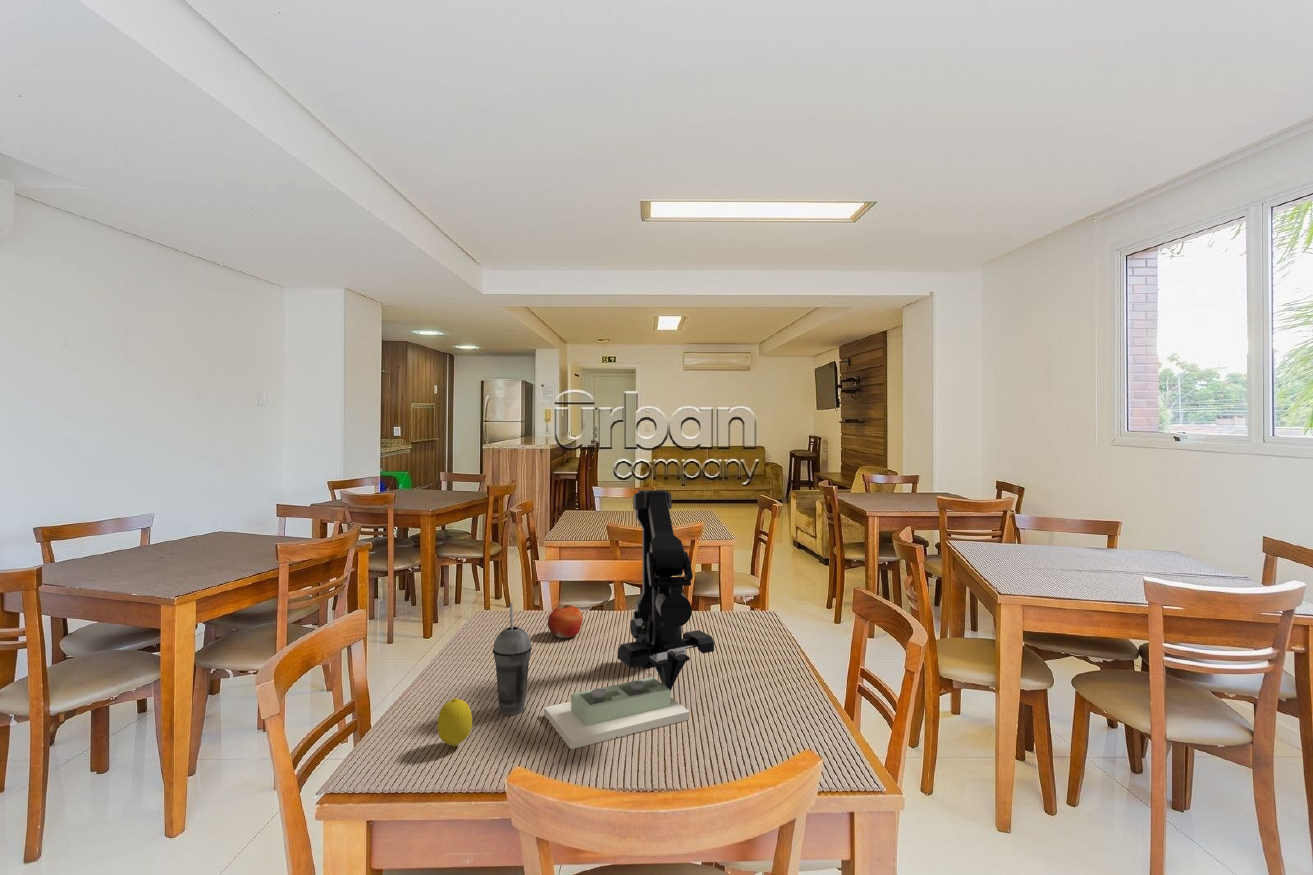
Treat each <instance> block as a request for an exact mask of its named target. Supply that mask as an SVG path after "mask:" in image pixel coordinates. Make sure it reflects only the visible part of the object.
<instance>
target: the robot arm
mask: <svg viewBox="0 0 1313 875" xmlns="http://www.w3.org/2000/svg"><path fill="white" fill-rule="evenodd" d="M672 508H673V507H672V492H668V490H665V489H639V490H638V491H637V493H636V492H635V493H633V496H632V509H633V511H635V519H637V521H638V524H639V525H640V526H641V529H642V531H641V532H642V535H641V536H642V538H641V539H642V540H641V541H642V546H641V547H642V553H641V554H642V555H641V556H642V564H641V565H642V591H641V593H640V595H639V596H638V598H637V600H636V602H635V610H634V611H632V619H630V634H631V636H632V638H633V639H635V641H630V642H627V643H626V642H625V643H620V645H619V647H618V649H617V660H619V661H620V662H622V663H623V664H625V665H626V666H627V667H628V668H633V669H634V668H638V667H640V668H641V667H642V668H645V669H646V668H651V667H655V670H656V671H657V675H658V677H659V680H660V683H661V684H663V685H664V686H666V687H667V688H668V689H670V692H671V691H672V689H673V687H674V684H675V682H676V680H677V678H678V676H679V674H680V672H681V671H682V669H683V668H684V665H685V664H686V662H688V661H690V658H691V657H690V656H689V655H687V649H693V648H697V650H698V651H699V652H700V653H701V654H708V653H713V652H714V651H715V640H714V637H713V636H712V635H710V634H708V633H706V632H704V631H702V630H699V629H698V630H691V631H686V632H684V633H683V631H682V630H683V626H685V625H686V624H687V623H688V622H689V620H690V619H691V617H692V614H693V606H692V604H691V602H690V601H689V599H688V598H687V597H686V595H685V593H684V587H687V586H692V580H693V576H694V575H693V569H692V564H691V559H690V556H689V554H688V552H687V551H685V548H684V545H683V542H682V540H681V539H680V538H678V537H677V536H676V535H675V533H674V529H673V522H672V519H671V513H670V510H672ZM682 575H683V576H682Z"/></svg>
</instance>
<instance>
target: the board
mask: <svg viewBox="0 0 1313 875" xmlns="http://www.w3.org/2000/svg"><path fill="white" fill-rule="evenodd" d="M631 681H632V682H631ZM631 681H630V682H631V683H630V688H631V689H632V690H633V696H634V695H638V694H642V689H644V682H643V681H636V680H631ZM593 689H594V690H593ZM593 689H591V690H592V697H593V698H595V704H598V703H602V702H603V698H604V697H606V690H605V689H602V687H598V688H593ZM543 710H544V711H543V716H544V717H545V718H546V720H547V719H548V720H549V721H548V720H547V721H548V722H549V724H550V723H551V724H552V725H551V724H550V725H551V726H552V727H553V729H554V728H555V729H554V730H555V731H556V732H558V733H559V734H558V733H557V734H558V735H559V736H560V738H561V737H562V738H561V739H562V740H563V742H564V743H565V744H566V746H568V748H569V749H570V750H574V749H578V748H583V747H585V746H590V745H591V746H592V745H593V744H594V745H595V744H598V743H601V742H607V741H610V740H614V739H617V738H616V737H618V738H621V737H626V736H629V734H630V735H633V733H634V734H638V733H641V732H645V731H649V730H650V731H651V730H653V728H654V729H658V728H661V727H666V726H669V725H673V724H677V723H680V722H686V721H689V720H690V710H688V709H687V708H685V707H684V705H682V704H680V703H679V702H677V701H676V700H675V699H673V698H672V697H671V696H670V706H668V707H664V708H660V709H656V710H651V711H647V712H643V713H639V714H635V715H630V716H626V717H622V718H618V719H614V720H609V721H605V722H601V723H597V724H593V725H588V726H585V725H584V724H583V723H582V722H581V721H580V720H579V719H578V717H577V716H576V715H575V714H574V713H573V712H572V711H571V701H568V702H563V703H559V704H553V705H550V706H545V707H544V708H543ZM637 732H638V733H637Z"/></svg>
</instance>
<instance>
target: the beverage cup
mask: <svg viewBox="0 0 1313 875" xmlns="http://www.w3.org/2000/svg"><path fill="white" fill-rule="evenodd" d="M513 606H514V604H513V602H509V624H510V626H509V627H506V628H504V629H502V631H500V632H499V633H498V635H497V636H496V638H495V640H494V644H493V648H492V653H493V659H494V663H495V673H496V674H495V675H496V686H497V698H498V708H499V713H500V714H501V715H503V716H515V715H514V714H517V715H519V714H522V713H524V711H523V710H525V704H526V697H527V685H528V678H529V677H528V676H529V674H528V673H529V664H530V659H531V655H532V650H533V648H532V642H531V639H530V636H529V634H528V633H527V632H526V631H525V630H524V629H522V628H521V627H520V626H519V627H518V626H514V614H513V612H514V610H513ZM521 712H522V713H521Z"/></svg>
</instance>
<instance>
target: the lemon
mask: <svg viewBox="0 0 1313 875" xmlns="http://www.w3.org/2000/svg"><path fill="white" fill-rule="evenodd" d="M472 714H473V713H472V710H471V707H470V705H469V704H468V702H466V701H464V699H463V700H462V699H459V698H457V697H454V698H452V699H451V700H449V701H447V702H446V703H445V704H444V705H443V706H442V707H441V708H440V711H439V713H438V716H437V717H438V718H437V726H436V728H437V734H438V737H439V738H440V740H441V741H442V742H444V743H445V744H447V745H450V746H452V747H453V748H456V747H458V745H459V744H460V743H462V742H464V741H466V739H467V738H468V737H469V735H470V733H471V732H472V731H471V730H472V726H473V715H472Z"/></svg>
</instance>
